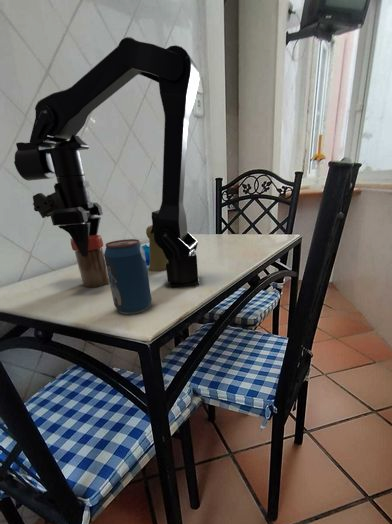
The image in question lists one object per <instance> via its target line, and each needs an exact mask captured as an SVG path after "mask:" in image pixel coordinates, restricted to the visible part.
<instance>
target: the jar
mask: <svg viewBox="0 0 392 524" xmlns="http://www.w3.org/2000/svg"><path fill="white" fill-rule="evenodd" d="M103 250H104V249H103V247H101V248H98V249H94V250H88V254H87V256H85V257H83V256H82V255H81V254H80V252H79V251H74V254H75V258H76V262H77V266H78V271H79V275H80V278H81V282H82V285H83V287H84V288H97V287H102V286H106V285H107V284H110V282H109V277H108V272H107V267H106V262H105V257H104V251H103Z"/></svg>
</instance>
